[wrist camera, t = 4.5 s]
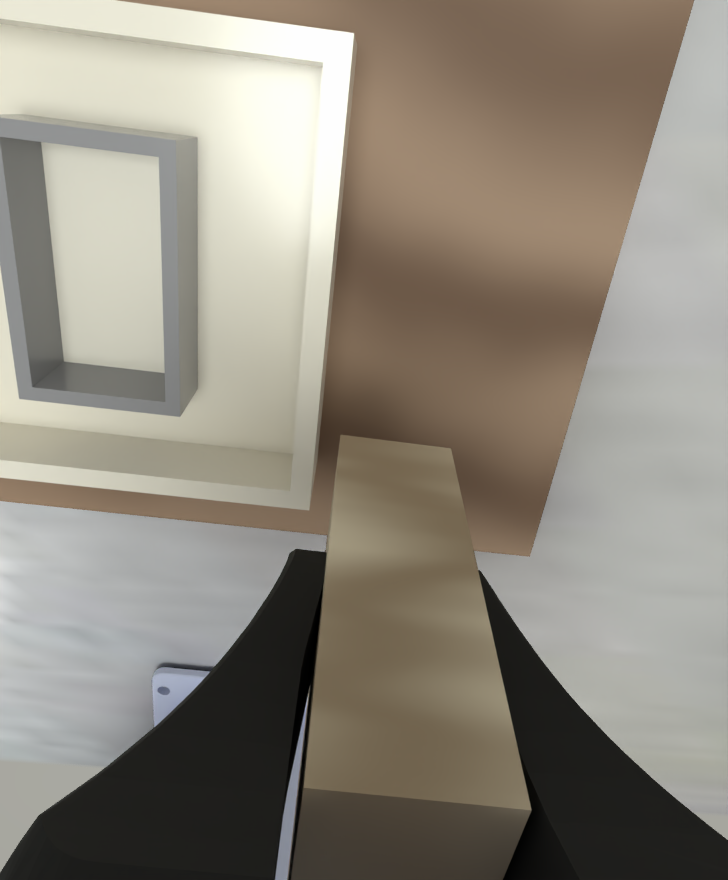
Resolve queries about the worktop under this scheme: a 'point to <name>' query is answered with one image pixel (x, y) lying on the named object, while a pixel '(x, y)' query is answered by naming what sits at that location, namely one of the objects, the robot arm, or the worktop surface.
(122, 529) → the worktop surface
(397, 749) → the tall bronze block
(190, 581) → the worktop surface
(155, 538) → the worktop surface
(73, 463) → the cream square tray
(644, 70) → the board
